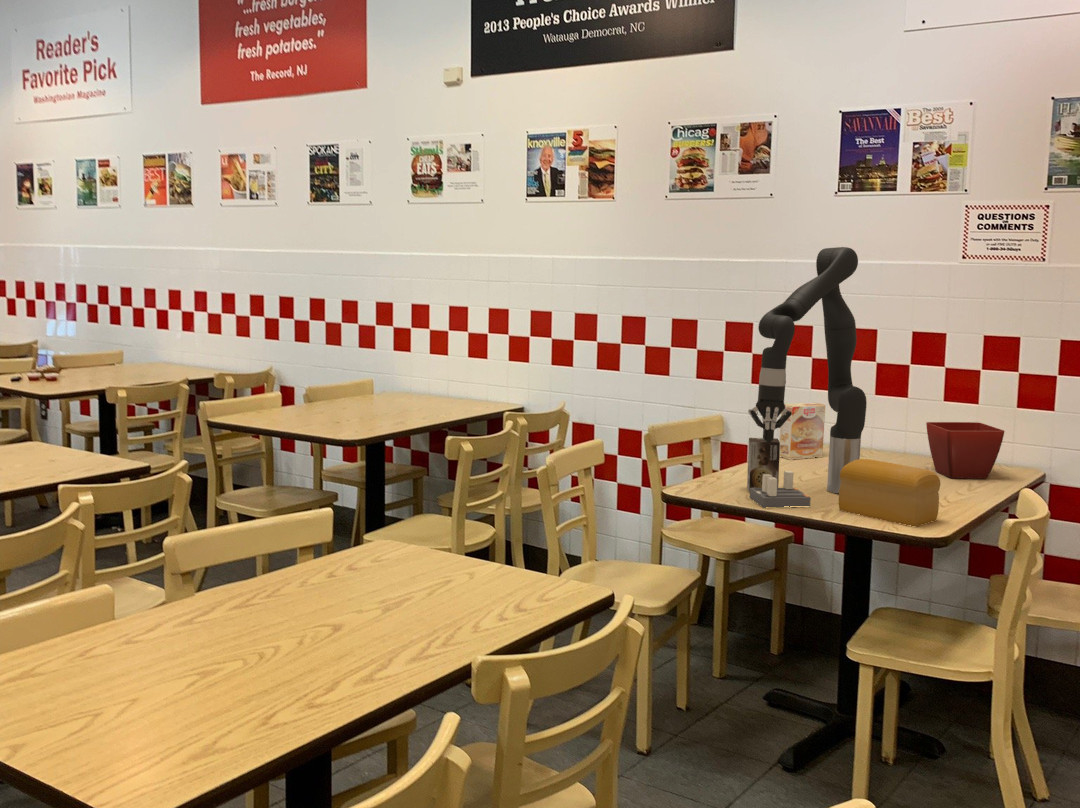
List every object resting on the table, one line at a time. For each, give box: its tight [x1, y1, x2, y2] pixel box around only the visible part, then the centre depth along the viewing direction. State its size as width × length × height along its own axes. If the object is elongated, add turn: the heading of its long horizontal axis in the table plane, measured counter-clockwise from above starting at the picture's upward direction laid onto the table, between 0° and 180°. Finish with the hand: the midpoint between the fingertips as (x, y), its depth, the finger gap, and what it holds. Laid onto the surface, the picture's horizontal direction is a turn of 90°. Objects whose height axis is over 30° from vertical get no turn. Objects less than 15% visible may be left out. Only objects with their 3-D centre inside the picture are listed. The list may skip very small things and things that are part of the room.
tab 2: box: [767, 477, 777, 496], centre depth 306 cm, size 2×3×5 cm
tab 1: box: [762, 474, 772, 493], centre depth 311 cm, size 2×3×5 cm
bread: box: [838, 458, 941, 527], centre depth 298 cm, size 24×13×15 cm, turn 41°
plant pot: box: [926, 421, 1006, 480], centre depth 356 cm, size 19×19×17 cm
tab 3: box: [782, 470, 794, 489], centre depth 316 cm, size 2×3×5 cm
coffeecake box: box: [778, 402, 826, 461], centre depth 383 cm, size 15×7×20 cm, turn 115°
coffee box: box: [746, 437, 780, 492], centre depth 327 cm, size 9×6×16 cm
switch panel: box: [749, 487, 812, 509], centre depth 312 cm, size 14×13×3 cm
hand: (767, 441), depth 310 cm, fingers closed
